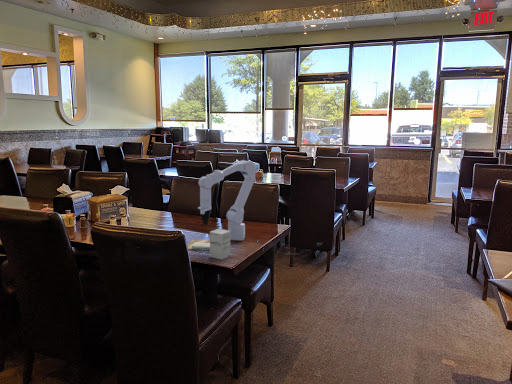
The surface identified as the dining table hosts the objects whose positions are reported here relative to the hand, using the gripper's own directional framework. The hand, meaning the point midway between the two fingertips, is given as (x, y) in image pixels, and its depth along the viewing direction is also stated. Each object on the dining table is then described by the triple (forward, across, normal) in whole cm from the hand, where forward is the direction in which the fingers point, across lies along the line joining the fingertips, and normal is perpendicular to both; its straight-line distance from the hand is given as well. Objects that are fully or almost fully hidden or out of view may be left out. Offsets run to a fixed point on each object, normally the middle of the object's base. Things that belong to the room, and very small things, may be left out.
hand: (205, 224), depth 199 cm
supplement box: (+10, +21, +12) cm, 26 cm away
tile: (+9, +7, +1) cm, 11 cm away
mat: (+10, +5, 0) cm, 11 cm away
